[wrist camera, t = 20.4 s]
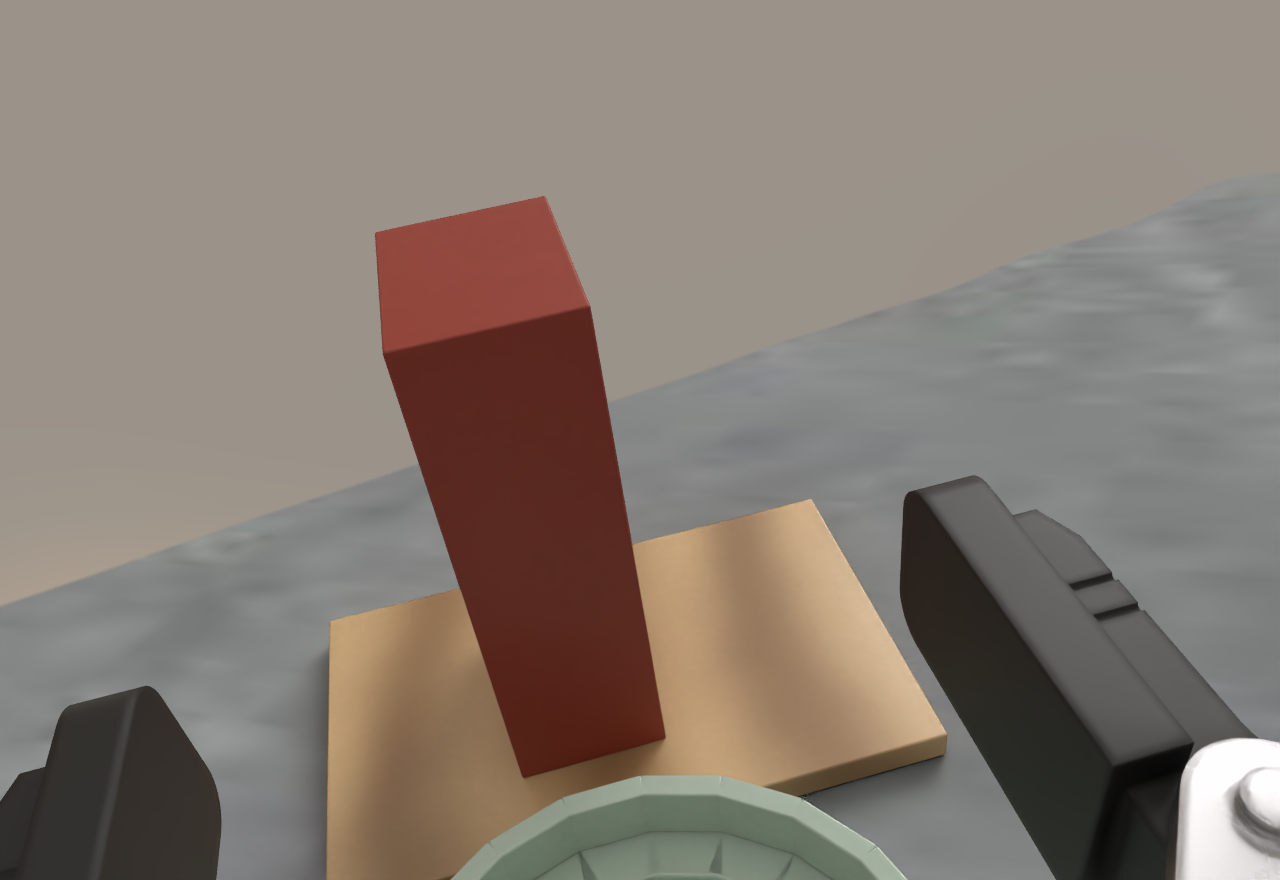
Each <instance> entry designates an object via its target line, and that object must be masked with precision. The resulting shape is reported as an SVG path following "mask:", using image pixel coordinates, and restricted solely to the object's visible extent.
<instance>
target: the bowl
mask: <svg viewBox="0 0 1280 880" xmlns="http://www.w3.org/2000/svg"><path fill="white" fill-rule="evenodd" d="M451 880H908V879H907V878H906V877H905V876H904V875H903V874H902V873H901V872H900V871H899V869H898V868H897V867H896V866H895V865H894V864H893V863H892V862H891V861H890V859H889V858H888V857H887V856H886V855H885V854H884V853H883V852H882V851H881V849H880V848H879V847H876V845H875V844H874V843H872V842H871V841H869V840H867V839H866V838H864V837H863V836H861V835H859V834H858V833H856V832H855V831H853V830H851V829H850V828H848V827H847V826H845V825H843V824H842V823H840V822H839V821H837V820H835V819H834V818H832V817H831V816H829V815H827V814H826V813H824V812H823V811H821V810H819V809H818V808H816V807H815V806H813V805H811V804H810V803H808V802H807V801H805V800H802V799H801V798H799V797H796V796H792V795H789V794H785V793H782V792H778V791H775V790H771V789H768V788H764V787H761V786H757V785H754V784H750V783H747V782H743V781H740V780H736V779H733V778H729V777H726V776H722V777H721V776H641V777H640V776H637V777H633V778H629V779H626V780H622V781H619V782H615V783H611V784H608V785H604V786H601V787H597V788H594V789H590V790H586V791H583V792H579V793H576V794H572V795H569V796H565V797H563V798H562V799H559V800H557V801H555V802H554V803H552V804H550V805H549V806H547V807H545V808H544V809H542V810H540V811H539V812H537V813H535V814H534V815H532V816H530V817H529V818H527V819H525V820H523V821H522V822H520V823H518V824H517V825H515V826H513V827H512V828H510V829H508V830H507V831H505V832H503V833H502V834H500V835H498V836H497V837H495V838H493V839H492V840H490V841H489V843H486V844H485V845H484V846H483V847H482V848H481V849H480V850H479V851H478V852H477V853H476V854H475V855H474V856H473V857H472V858H471V859H470V860H469V861H468V862H467V863H466V864H465V865H464V866H463V867H462V868H461V869H460V870H459V871H458V872H457V873H456V874H455V875H454V876H453V878H452V879H451Z"/></svg>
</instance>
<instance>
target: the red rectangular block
mask: <svg viewBox="0 0 1280 880" xmlns="http://www.w3.org/2000/svg"><path fill="white" fill-rule="evenodd" d="M375 240H376V254H377V255H376V256H377V271H378V287H379V301H380V317H381V334H382V349H383V356H384V359H385V362H386V365H387V368H388V371H389V374H390V377H391V380H392V383H393V386H394V389H395V392H396V396H397V399H398V402H399V405H400V408H401V411H402V414H403V417H404V420H405V423H406V426H407V428H408V432H409V435H410V438H411V441H412V444H413V447H414V450H415V453H416V456H417V459H418V462H419V465H420V468H421V471H422V475H423V478H424V481H425V484H426V487H427V490H428V493H429V496H430V499H431V502H432V505H433V508H434V511H435V514H436V517H437V520H438V523H439V526H440V529H441V532H442V535H443V538H444V541H445V544H446V547H447V550H448V553H449V557H450V560H451V563H452V566H453V569H454V572H455V575H456V578H457V581H458V584H459V587H460V590H461V593H462V596H463V599H464V602H465V605H466V608H467V611H468V614H469V617H470V620H471V623H472V626H473V629H474V632H475V635H476V638H477V642H478V645H479V648H480V651H481V654H482V657H483V660H484V663H485V666H486V669H487V672H488V675H489V678H490V681H491V684H492V687H493V690H494V693H495V696H496V699H497V702H498V705H499V708H500V711H501V714H502V717H503V720H504V724H505V727H506V730H507V733H508V736H509V739H510V742H511V745H512V748H513V751H514V754H515V757H516V760H517V763H518V766H519V769H520V772H521V775H522V777H523V778H526V777H529V776H533V775H537V774H540V773H544V772H547V771H551V770H555V769H558V768H562V767H565V766H569V765H573V764H576V763H580V762H583V761H587V760H591V759H594V758H598V757H601V756H605V755H609V754H612V753H616V752H619V751H623V750H626V749H630V748H634V747H637V746H641V745H644V744H648V743H652V742H655V741H659V740H662V739H665V738H666V734H665V728H664V722H663V717H662V711H661V705H660V700H659V694H658V688H657V682H656V677H655V671H654V665H653V660H652V654H651V648H650V643H649V637H648V631H647V626H646V620H645V614H644V609H643V603H642V597H641V592H640V586H639V580H638V574H637V569H636V563H635V557H634V552H633V546H632V540H631V535H630V529H629V523H628V518H627V512H626V506H625V501H624V495H623V489H622V484H621V478H620V472H619V466H618V461H617V455H616V449H615V444H614V438H613V432H612V427H611V421H610V415H609V410H608V404H607V398H606V393H605V387H604V382H603V376H602V370H601V364H600V359H599V353H598V347H597V341H596V336H595V330H594V324H593V319H592V313H591V307H590V305H589V302H588V300H587V297H586V295H585V292H584V290H583V287H582V285H581V282H580V280H579V277H578V275H577V273H576V270H575V268H574V265H573V263H572V260H571V258H570V255H569V253H568V250H567V248H566V246H565V243H564V240H563V238H562V236H561V233H560V231H559V228H558V226H557V223H556V221H555V218H554V216H553V213H552V211H551V208H550V206H549V204H548V201H547V199H546V197H544V196H542V197H538V198H534V199H528V200H524V201H519V202H514V203H510V204H505V205H501V206H496V207H492V208H486V209H482V210H478V211H473V212H468V213H464V214H459V215H454V216H449V217H445V218H440V219H436V220H431V221H426V222H422V223H417V224H412V225H407V226H403V227H398V228H393V229H389V230H385V231H380V232H376V233H375Z"/></svg>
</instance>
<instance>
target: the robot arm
mask: <svg viewBox="0 0 1280 880" xmlns="http://www.w3.org/2000/svg"><path fill="white" fill-rule="evenodd" d="M900 597H901V603H902V608H903V612H904V616H905V619H906V622H907V625H908V628H909V630H910V633H911V635H912V637H913V639H914V641H915V643H916V645H917V647H918V648H919V650H920V652H921V653H922V655H923V657H924V658H925V660H926V662H927V663H928V665H929V667H930V668H931V670H932V672H933V673H934V675H935V677H936V678H937V680H938V682H939V684H940V685H941V687H942V689H943V690H944V692H945V694H946V695H947V697H948V699H949V700H950V702H951V704H952V705H953V707H954V709H955V710H956V712H957V714H958V715H959V717H960V719H961V720H962V722H963V724H964V726H965V727H966V729H967V731H968V732H969V734H970V736H971V737H972V739H973V741H974V742H975V744H976V746H977V747H978V749H979V751H980V752H981V754H982V756H983V757H984V759H985V761H986V763H987V764H988V766H989V768H990V769H991V771H992V773H993V774H994V776H995V778H996V779H997V781H998V783H999V784H1000V786H1001V788H1002V789H1003V791H1004V793H1005V794H1006V796H1007V798H1008V799H1009V801H1010V803H1011V805H1012V806H1013V808H1014V810H1015V811H1016V813H1017V815H1018V816H1019V818H1020V820H1021V821H1022V823H1023V825H1024V826H1025V828H1026V830H1027V831H1028V833H1029V835H1030V836H1031V838H1032V840H1033V842H1034V843H1035V845H1036V847H1037V848H1038V850H1039V852H1040V853H1041V855H1042V857H1043V858H1044V860H1045V862H1046V863H1047V865H1048V867H1049V868H1050V870H1051V872H1052V873H1053V875H1054V877H1055V878H1056V880H1280V743H1276V742H1273V741H1267V740H1262V739H1259V738H1258V737H1256V736H1255V735H1254V734H1253V733H1252V732H1250V730H1249V729H1248V728H1247V727H1246V726H1245V725H1244V724H1243V723H1242V722H1241V721H1240V720H1239V719H1238V718H1237V717H1236V716H1235V714H1234V713H1233V712H1232V711H1231V710H1230V709H1229V707H1228V706H1227V705H1226V704H1225V703H1224V702H1223V700H1222V699H1221V698H1220V697H1219V696H1218V695H1217V693H1216V692H1215V691H1214V690H1213V689H1212V688H1211V687H1210V685H1209V684H1208V683H1207V682H1206V681H1205V680H1204V678H1203V677H1202V676H1201V675H1200V674H1199V673H1198V671H1197V670H1196V669H1195V668H1194V667H1193V666H1192V665H1191V663H1190V662H1189V661H1188V660H1187V659H1186V658H1185V656H1184V655H1183V654H1182V653H1181V652H1180V651H1179V649H1178V648H1177V647H1176V646H1175V645H1174V644H1173V642H1172V641H1171V640H1170V639H1169V638H1168V637H1167V636H1166V634H1165V633H1164V632H1163V631H1162V630H1161V629H1160V627H1159V626H1158V625H1157V624H1156V623H1155V622H1154V620H1153V619H1152V618H1151V617H1150V616H1149V615H1148V613H1147V612H1146V611H1145V610H1143V611H1141V610H1140V609H1139V607H1138V602H1137V601H1136V600H1135V598H1134V597H1133V596H1132V595H1131V594H1130V593H1129V591H1128V590H1127V589H1126V588H1125V587H1124V586H1123V585H1122V583H1121V582H1120V581H1119V580H1114V578H1113V576H1112V572H1111V571H1110V569H1109V568H1108V567H1107V566H1106V565H1105V564H1104V562H1103V561H1102V560H1101V559H1100V558H1099V557H1098V556H1097V554H1096V553H1095V552H1094V551H1093V550H1092V549H1091V547H1090V546H1089V545H1088V544H1087V543H1086V542H1085V540H1084V539H1083V538H1082V537H1081V536H1080V535H1078V534H1076V533H1075V532H1073V531H1071V530H1070V529H1068V528H1066V527H1065V526H1063V525H1061V524H1060V523H1058V522H1056V521H1054V520H1053V519H1051V518H1049V517H1048V516H1046V515H1044V514H1043V513H1041V512H1039V511H1038V510H1036V509H1035V510H1031V511H1027V512H1024V513H1020V514H1016V515H1012V514H1011V513H1010V511H1009V510H1008V509H1007V508H1006V506H1005V505H1004V504H1003V503H1002V501H1001V500H1000V499H999V498H998V496H997V495H996V494H995V493H994V491H993V490H992V489H991V488H990V486H989V485H988V484H987V483H986V482H985V481H984V480H983V479H981V478H980V477H978V476H969V477H965V478H961V479H957V480H953V481H949V482H946V483H942V484H938V485H934V486H930V487H926V488H922V489H918V490H915V491H911V492H909V493H907V495H906V497H905V500H904V506H903V526H902V548H901V571H900ZM220 838H221V809H220V802H219V797H218V792H217V789H216V785H215V782H214V779H213V777H212V775H211V773H210V771H209V769H208V767H207V766H206V764H205V763H204V761H203V760H202V758H201V757H200V755H199V754H198V752H197V751H196V749H195V748H194V746H193V745H192V743H191V742H190V740H189V738H188V737H187V735H186V734H185V732H184V731H183V729H182V728H181V726H180V725H179V723H178V722H177V720H176V719H175V717H174V716H173V714H172V713H171V711H170V710H169V708H168V706H167V705H166V703H165V702H164V700H163V699H162V697H161V696H160V695H159V693H158V692H157V691H156V690H155V689H153V688H152V687H150V686H143V687H139V688H136V689H132V690H128V691H124V692H120V693H116V694H112V695H108V696H104V697H101V698H97V699H93V700H89V701H85V702H81V703H77V704H73V705H70V706H68V707H67V708H65V710H64V711H63V712H62V714H61V715H60V717H59V720H58V723H57V726H56V729H55V733H54V737H53V740H52V744H51V747H50V751H49V755H48V758H47V762H46V766H45V767H43V768H40V769H36V770H32V771H28V772H24V773H21V774H19V775H18V777H17V778H16V780H15V781H14V783H13V784H12V785H11V787H10V788H9V790H8V791H7V793H6V794H5V795H4V797H3V798H2V800H1V801H0V880H216V875H217V866H218V856H219V847H220Z"/></svg>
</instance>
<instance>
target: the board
mask: <svg viewBox="0 0 1280 880" xmlns="http://www.w3.org/2000/svg"><path fill="white" fill-rule="evenodd" d="M632 546H633V552H634V557H635V563H636V569H637V574H638V580H639V586H640V592H641V597H642V603H643V609H644V614H645V620H646V626H647V631H648V637H649V643H650V648H651V654H652V660H653V665H654V671H655V677H656V682H657V688H658V694H659V700H660V705H661V711H662V717H663V722H664V728H665V734H666V738H665V739H662V740H659V741H655V742H652V743H648V744H644V745H641V746H637V747H634V748H630V749H626V750H623V751H619V752H616V753H612V754H609V755H605V756H601V757H598V758H594V759H591V760H587V761H583V762H580V763H576V764H573V765H569V766H565V767H562V768H558V769H555V770H551V771H547V772H544V773H540V774H537V775H533V776H529V777H526V778H523V777H522V775H521V772H520V769H519V766H518V763H517V760H516V757H515V754H514V751H513V748H512V745H511V742H510V739H509V736H508V733H507V730H506V727H505V724H504V720H503V717H502V714H501V711H500V708H499V705H498V702H497V699H496V696H495V693H494V690H493V687H492V684H491V681H490V678H489V675H488V672H487V669H486V666H485V663H484V660H483V657H482V654H481V651H480V648H479V645H478V642H477V638H476V635H475V632H474V629H473V626H472V623H471V620H470V617H469V614H468V611H467V608H466V605H465V602H464V599H463V596H462V593H461V590H460V588H459V589H455V590H451V591H447V592H443V593H439V594H435V595H431V596H428V597H424V598H420V599H416V600H412V601H408V602H404V603H400V604H396V605H392V606H388V607H384V608H380V609H376V610H372V611H369V612H365V613H361V614H357V615H353V616H349V617H345V618H341V619H337V620H333V621H330V637H329V708H328V779H327V850H326V880H451V879H452V878H453V876H454V875H455V874H456V873H457V872H458V871H459V870H460V869H461V868H462V867H463V866H464V865H465V864H466V863H467V862H468V861H469V860H470V859H471V858H472V857H473V856H474V855H475V854H476V853H477V852H478V851H479V850H480V849H481V848H482V847H483V846H484V845H485V844H486V843H489V841H490V840H492V839H493V838H495V837H497V836H498V835H500V834H502V833H503V832H505V831H507V830H508V829H510V828H512V827H513V826H515V825H517V824H518V823H520V822H522V821H523V820H525V819H527V818H529V817H530V816H532V815H534V814H535V813H537V812H539V811H540V810H542V809H544V808H545V807H547V806H549V805H550V804H552V803H554V802H555V801H557V800H559V799H562V798H563V797H565V796H569V795H572V794H576V793H579V792H583V791H586V790H590V789H594V788H597V787H601V786H604V785H608V784H611V783H615V782H619V781H622V780H626V779H629V778H633V777H637V776H640V777H641V776H721V777H722V776H726V777H729V778H733V779H736V780H740V781H743V782H747V783H750V784H754V785H757V786H761V787H764V788H768V789H771V790H775V791H778V792H782V793H785V794H789V795H792V796H796V797H797V796H801V795H804V794H808V793H811V792H815V791H818V790H822V789H825V788H829V787H832V786H836V785H839V784H843V783H846V782H850V781H853V780H857V779H860V778H864V777H867V776H871V775H874V774H878V773H881V772H885V771H888V770H892V769H895V768H899V767H902V766H905V765H909V764H912V763H916V762H919V761H923V760H926V759H930V758H933V757H937V756H940V755H944V754H945V753H946V743H947V733H946V731H945V729H944V728H943V726H942V724H941V722H940V721H939V719H938V717H937V715H936V714H935V712H934V710H933V709H932V707H931V705H930V703H929V702H928V700H927V698H926V696H925V695H924V693H923V691H922V690H921V688H920V686H919V684H918V683H917V681H916V679H915V677H914V676H913V674H912V672H911V671H910V669H909V667H908V665H907V664H906V662H905V660H904V658H903V657H902V655H901V653H900V652H899V650H898V648H897V646H896V645H895V643H894V641H893V639H892V638H891V636H890V634H889V633H888V631H887V629H886V627H885V626H884V624H883V622H882V620H881V619H880V617H879V615H878V613H877V612H876V610H875V608H874V607H873V605H872V603H871V601H870V600H869V598H868V596H867V594H866V593H865V591H864V589H863V588H862V586H861V584H860V582H859V581H858V579H857V577H856V575H855V574H854V572H853V570H852V569H851V567H850V565H849V563H848V562H847V560H846V558H845V556H844V555H843V553H842V551H841V550H840V548H839V546H838V544H837V543H836V541H835V539H834V537H833V536H832V534H831V532H830V531H829V529H828V527H827V525H826V524H825V522H824V520H823V518H822V517H821V515H820V513H819V512H818V510H817V508H816V506H815V505H814V503H813V501H812V500H811V499H809V500H805V501H801V502H797V503H793V504H789V505H786V506H782V507H778V508H774V509H770V510H766V511H762V512H758V513H754V514H750V515H746V516H742V517H738V518H734V519H730V520H727V521H723V522H719V523H715V524H711V525H707V526H703V527H699V528H695V529H691V530H687V531H683V532H679V533H675V534H671V535H668V536H664V537H660V538H656V539H652V540H648V541H644V542H640V543H636V544H632Z"/></svg>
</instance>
